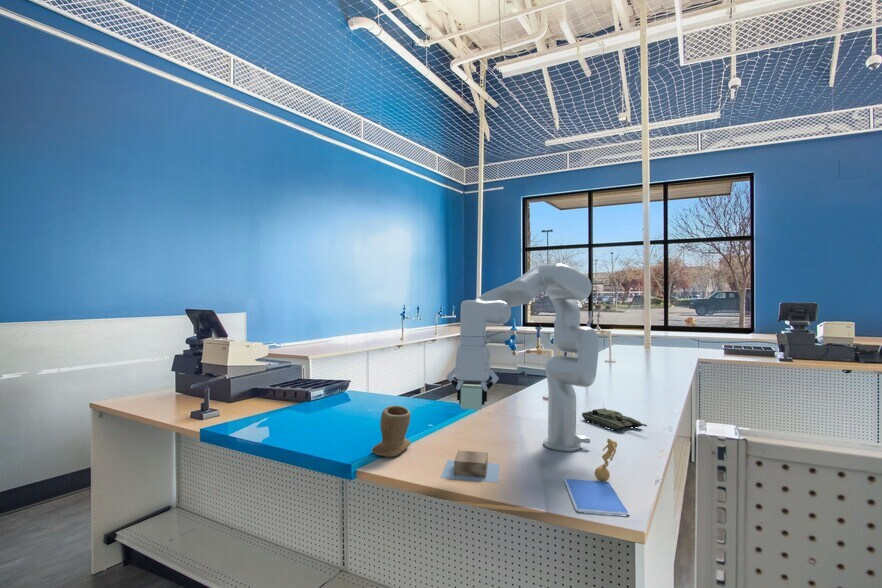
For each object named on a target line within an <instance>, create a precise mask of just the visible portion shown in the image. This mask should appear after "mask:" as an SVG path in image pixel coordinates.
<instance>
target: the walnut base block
mask: <svg viewBox="0 0 882 588" xmlns="http://www.w3.org/2000/svg"><path fill="white" fill-rule="evenodd" d="M488 457H489V455H488V452H486V451H485V452H483V451H471V450H469V451H468V450H460V449H459V450H457V452H456V455H455V457H454V459H453V460H454V475H458V476H471V477H483V478H486V473H487V467H488V463H489V461H488V460H489V458H488Z"/></svg>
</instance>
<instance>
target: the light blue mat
mask: <svg viewBox="0 0 882 588" xmlns="http://www.w3.org/2000/svg"><path fill="white" fill-rule="evenodd" d="M454 460H455V459H453V460H452V459H447V461H446V464H445V466H444V468H443V471H442V473H441V476H440V478H441V479H452V480H464V481H474V482H475V481H476V482H487V483H488V482H489V483H496V484H497V483H499V475H500V463H494V462H493V463H492V462H488V467H487V473H486V478H483V477H471V476H458V475H454Z"/></svg>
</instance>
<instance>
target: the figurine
mask: <svg viewBox="0 0 882 588" xmlns="http://www.w3.org/2000/svg"><path fill="white" fill-rule="evenodd" d="M606 443H607V445H606V446H604V448H602V452H605V450H606V449H607V451H606V452H605V453H604V454H603V455H602V456H601V457H602V459H603V461H604V463H603V464H601V465H600V466H597V467H596V468H595V470H594V476H595V478H596V480H597V481H604V482H608V480H609V479H610V476H611V475H610V471H609V470H608V468H607V467H608V466H609V462H612V461H613V458H614V457H615V454H616V453H617V447H618V442H617V441H615V440H612V439H610V438H607V440H606ZM608 460H609V461H608Z"/></svg>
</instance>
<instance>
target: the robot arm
mask: <svg viewBox="0 0 882 588" xmlns="http://www.w3.org/2000/svg"><path fill="white" fill-rule="evenodd" d="M592 287H593V285H592V282H591V280H590V278H589V277H588V275H585V274H584V273H582V272H581V271H579V270H576V269H575V268H573V267H571V266H568V265H566V264H563V263H547V264H539V265H536V266H534V267H532V268H531V269H529V270H528V271H526V272H525V273H524V274H522V275H520V276H519V277H518V278H516V279H514V280H513V281H511V282H508V283H505V284H503V285H500V286H498V287H495V288H492V289H491V290H488V291H486V292H484V293H483V294H482V295H480V296H478V297H476V298H475V299H465V300H462V302H461V303H460V326H459V327H460V328H459V329H460V335H459V337H460V339H459V344H460V345H458V346H457V350H456V354H455V355H456V356H455V365H454V367H453V369H452V370H451V371H450V372H448V374H447V375H446V377H445V378H446V379H447V380H448V381H449V382H450V383H451V384H452V385H453V387H454V388H455V389H456V393H457V394H456V401H458V403H459V404H460V405H461V387H462V385H463V384H464V382H480V383H481V384H480V385H482V387H483V390H482V405H483V406H485V403H487V402H488V390H489V389H490V388H491V387H493V385H494V384H496V383H497V382H498V381H499V379H500V378H499V376H497V374H496V373H495V372H494V371H493V370H492V369H491V360H490V359H491V357H490V350H489V346H486V345H487V344H491V340H492V339H491V338H488V337H487V336H486V334H487V325H492V326H493V325H494V326H497V325H498V326H501V325H504V324H506V323H508V321H509V320H510V319H511V316H512V309H511V308H513V307H519V306H522V305H523V306H524V305H526V304H528V303H530V302H532V301H533V300H534V299H535V298H537V297H538V296H540V295H541V294H542V293H544V292H545V294H546V295H547V296H548V298H549V299H550V301H551V303H552V304H553V306H554V309H555V320H554V329H553V339H552V340H553V343H552V344H553V346H554V349H556V350H557V351H559V352H563V353H570V354H577V357H573V356H567V355H554V356H553V355H552V356H551V357H550V358H548V359H547V362H546V363H545V375H546V380H547V388H548V389H547V390H548V391H547V392H548V393H547V394H548V395H547V396H548V398H547V399H548V401H547V402H548V404H547V405H548V407H547V438H545V439H544V440H543V442H542V443H543V445H544V446H545V447H546V448H548V449H550V450H554V451H559V452H575V451H578V450H580V449H581V443H582V444H583V443H584V444H591V438H590V437H587V436H585V435H579V434H577V395H576V394H577V393H576V392H575V389H574V386H576V387H583V388H588V387H590V386H592V385H593V384H594V383H595V380H596V376H597V371H598V370H597V368H598V360H599V358H598V357H599V351H600V350H599V348H600V339H599V336H598V333H597V331H596V330H595V329H593V328H592V327H589V326H581V310H580V308H579V305H578V304H577V302H576V300H577V301H579V300H581V301H582V300H585V299H587V298H588V297H589V296H590V295H591V293H592V289H593V288H592ZM454 377H455V378H454ZM490 377H491V378H492V379H491V380H490V381H489V378H490ZM457 380H458V381H457ZM487 381H488V383H487Z"/></svg>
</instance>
